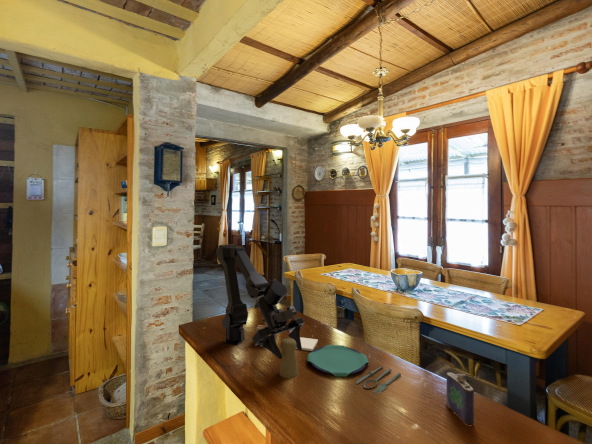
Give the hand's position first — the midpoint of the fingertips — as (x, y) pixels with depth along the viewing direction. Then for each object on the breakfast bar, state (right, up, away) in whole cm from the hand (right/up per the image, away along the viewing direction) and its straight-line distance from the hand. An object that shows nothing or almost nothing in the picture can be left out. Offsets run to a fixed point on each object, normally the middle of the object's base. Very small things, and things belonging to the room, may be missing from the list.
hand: (291, 354), depth 99 cm
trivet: (+5, -6, +22) cm, 24 cm away
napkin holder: (-10, -6, +25) cm, 28 cm away
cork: (-1, -7, +1) cm, 7 cm away
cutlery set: (+19, -7, +5) cm, 21 cm away
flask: (+44, -8, -19) cm, 49 cm away
